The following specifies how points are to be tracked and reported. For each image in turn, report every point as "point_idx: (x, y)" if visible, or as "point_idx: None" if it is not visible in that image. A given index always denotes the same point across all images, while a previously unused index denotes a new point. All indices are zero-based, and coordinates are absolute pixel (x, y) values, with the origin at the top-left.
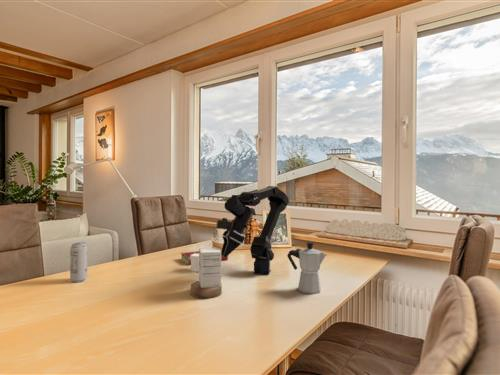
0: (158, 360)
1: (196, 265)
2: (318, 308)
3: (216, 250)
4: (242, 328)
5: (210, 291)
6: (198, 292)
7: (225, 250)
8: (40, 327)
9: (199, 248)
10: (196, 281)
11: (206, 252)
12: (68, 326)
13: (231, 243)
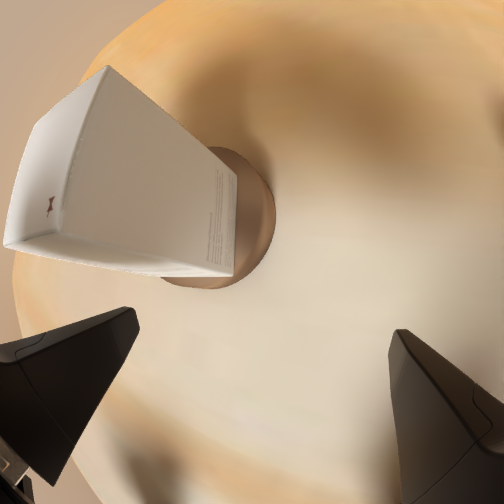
0: None
1: None
2: (86, 465)
3: (16, 213)
4: (45, 286)
5: None
6: None
7: (75, 324)
8: (165, 10)
9: (102, 68)
10: (247, 164)
11: (24, 151)
12: (152, 30)
13: (17, 398)
